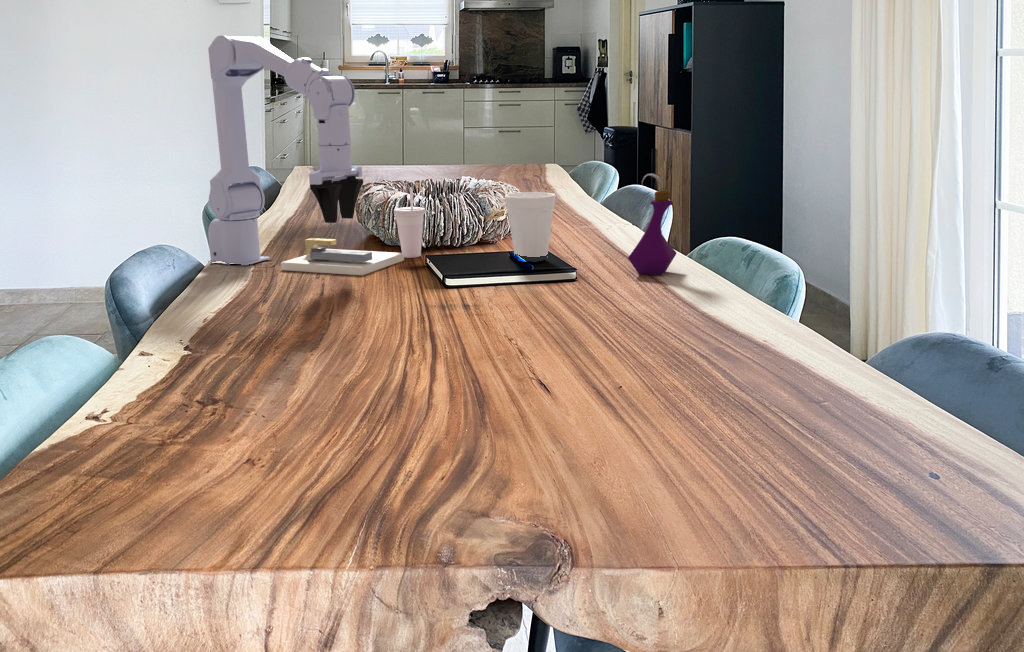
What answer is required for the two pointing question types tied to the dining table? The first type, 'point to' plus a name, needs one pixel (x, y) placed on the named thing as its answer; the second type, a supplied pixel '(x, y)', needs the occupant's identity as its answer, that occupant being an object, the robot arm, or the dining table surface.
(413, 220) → the smoothie
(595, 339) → the dining table surface
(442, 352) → the dining table surface
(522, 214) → the cup
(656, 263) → the perfume bottle
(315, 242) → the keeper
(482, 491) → the dining table surface
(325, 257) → the latch bar
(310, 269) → the base board
